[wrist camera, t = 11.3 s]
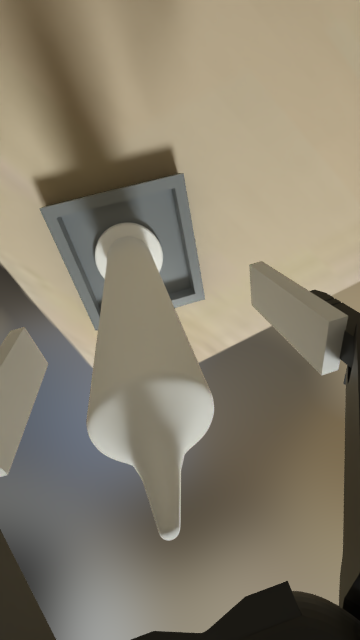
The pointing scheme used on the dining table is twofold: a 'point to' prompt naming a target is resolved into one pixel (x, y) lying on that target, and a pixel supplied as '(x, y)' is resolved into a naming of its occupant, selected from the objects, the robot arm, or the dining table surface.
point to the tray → (135, 207)
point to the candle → (144, 373)
